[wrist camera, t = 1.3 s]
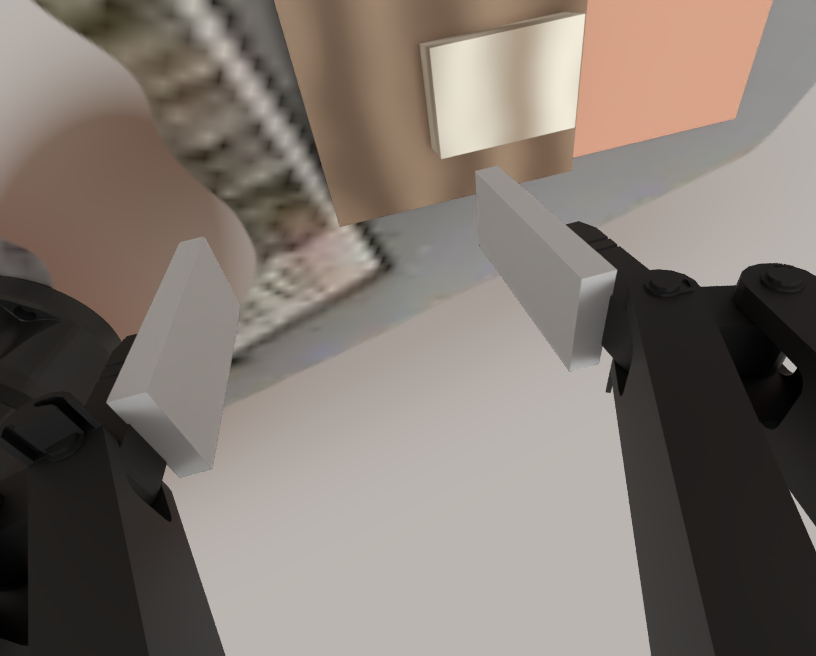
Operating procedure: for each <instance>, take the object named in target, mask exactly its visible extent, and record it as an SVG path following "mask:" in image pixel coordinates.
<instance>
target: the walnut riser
mask: <svg viewBox="0 0 816 656" xmlns="http://www.w3.org/2000/svg"><path fill="white" fill-rule="evenodd" d="M274 2H275V6H276V9H277V12H278V16H279V19H280V23H281V26H282V30H283V33H284V37H285V40H286V43H287V47H288V50H289V54H290V57H291V61H292V64H293V68H294V71H295V74H296V78H297V81H298V85H299V88H300V92H301V95H302V99H303V102H304V105H305V109H306V112H307V116H308V119H309V123H310V126H311V130H312V133H313V136H314V140H315V143H316V147H317V150H318V154H319V157H320V161H321V164H322V167H323V171H324V174H325V178H326V181H327V185H328V188H329V192H330V195H331V198H332V202H333V205H334V209H335V212H336V216H337V219H338V223H339V226H340V227H342V226H346V225H350V224H354V223H358V222H362V221H366V220H371V219H375V218H379V217H383V216H387V215H391V214H395V213H399V212H403V211H408V210H412V209H416V208H420V207H424V206H428V205H432V204H436V203H440V202H445V201H449V200H453V199H457V198H461V197H465V196H469V195H473V194H476V179H475V171H477V170H482V169H486V168H490V167H494V166H499V167H500V168H501V169H502V170H503V171H504V172H506V173H507V174H508V175H509V176H510V177H511V178H512V179H514V180H515V181H516V182H517V183H523V182H527V181H531V180H535V179H539V178H543V177H547V176H551V175H555V174H560V173H564V172H568V171H572V162H573V151H574V141H575V130H576V120H575V128H571V129H566V130H562V131H558V132H554V133H549V134H545V135H541V136H537V137H533V138H528V139H524V140H520V141H516V142H512V143H507V144H503V145H499V146H495V147H491V148H486V149H482V150H478V151H474V152H470V153H465V154H461V155H457V156H453V157H448V158H444V159H441V158H440V157H439V156H438V155H437V154H436V152H435V151H434V150H433V149H432V147H431V138H430V130H429V121H428V113H427V105H426V96H425V88H424V79H423V71H422V62H421V54H420V45H419V44H421V43H425V42H430V41H434V40H439V39H443V38H448V37H452V36H457V35H461V34H466V33H470V32H475V31H479V30H484V29H488V28H493V27H497V26H502V25H506V24H511V23H515V22H520V21H525V20H529V19H534V18H538V17H543V16H547V15H552V14H556V13H561V12H572V13H584V14H585V23H584V34H585V24H586V13H587V3H588V0H274ZM584 34H583V45H584ZM583 45H582V55H581V66H582V56H583ZM581 66H580V77H581ZM580 77H579V87H580ZM578 98H579V88H578ZM578 98H577V109H578ZM577 109H576V119H577Z"/></svg>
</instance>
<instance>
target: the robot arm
mask: <svg viewBox="0 0 816 656" xmlns="http://www.w3.org/2000/svg"><path fill="white" fill-rule="evenodd" d="M475 179H476V197H477V215H478V233H479V246H480V248H481V249H482V250H483V252H484V253H485V255H486V256H487V257H488V259H489V260H490V262H491V263H492V264H493V266H494V267H495V269H496V270H497V271H498V273H499V274H500V276H501V277H502V278H503V280H504V281H505V282H506V284H507V285H508V287H509V288H510V290H511V291H512V292H513V294H514V295H515V297H516V298H517V299H518V301H519V302H520V303H521V305H522V306H523V308H524V309H525V310H526V312H527V313H528V315H529V316H530V317H531V319H532V320H533V322H534V323H535V324H536V326H537V327H538V328H539V330H540V331H541V333H542V334H543V336H544V337H545V338H546V340H547V341H548V343H549V344H550V345H551V347H552V348H553V350H554V351H555V352H556V354H557V355H558V357H559V358H560V359H561V361H562V362H563V364H564V365H565V366H566V368H567V369H568V371H569V372H571V371H575V370H578V369H581V368H586V367H589V366H593V365H597V364H599V361H600V356H601V351H602V346H603V347H604V348H605V349H606V350H607V352H608V353H609V354H610V355H611V356H612V357H613V360H612V364H611V369H610V373H609V378H608V383H607V388H606V392H608V393H610V392H611V389H612V386H613V392H614V399H615V407H616V413H617V420H618V427H619V435H620V441H621V448H622V455H623V462H624V469H625V475H626V483H627V490H628V496H629V504H630V511H631V518H632V525H633V531H634V539H635V546H636V553H637V560H638V566H639V574H640V581H641V587H642V594H643V601H644V608H645V615H646V622H647V628H648V636H649V643H650V650H651V656H816V551H815V549H814V546H813V544H812V542H811V539H810V537H809V535H808V533H807V530H806V528H805V526H804V523H803V521H802V519H801V516H800V514H799V512H798V509H797V507H796V505H795V503H794V500H793V498H792V496H791V494H790V491H791V493H792V494H793V495H794V497H795V498H796V500H797V501H798V502H799V504H800V505H801V507H802V508H803V509H804V511H805V512H806V514H807V515H808V516H809V518H810V519H811V520H812V522H813V523H814V525H815V526H816V276H815V275H813V274H811V273H809V272H808V271H806V270H803V269H800V268H796V267H794V266H791V265H786V264H784V265H783V264H778V263H767V264H757V265H753V266H749V267H748V268H746V269H745V270H744V271H742V273H741V275H740V278H739V280H738V282H737V285H734V286H711V287H700V286H699V285H698V284H697V282H696V281H695V280H693V279H692V278H690V277H688V276H686V275H685V274H681V273H678V272H675V271H670V270H659V269H658V270H649V269H648V268H646V267H645V266H644V265H643V264H641V263H640V262H639V261H638V260H636V259H635V258H634V257H632V256H631V255H630V254H629V253H627V252H626V251H625V250H624V249H622V248H621V247H620V246H619V247H618V246H617V244H616V243H615V242H614V241H612V240H611V239H608V237H607V236H606V235H604V234H603V233H602V232H601V231H600V230H598V229H597V228H596V227H593V226H590V225H588V224H585V223H582V222H579V221H578V222H574V223H570V224H566V225H565V224H564V223H563V222H562V221H561V220H560V219H558V218H557V217H556V216H555V215H554V214H553V213H551V212H550V211H549V210H548V209H547V208H546V207H545V206H543V205H542V204H541V203H540V202H539V201H538V200H537V199H535V198H534V197H533V196H532V195H531V194H530V193H529V192H527V191H526V190H525V189H524V188H523V187H522V186H521V185H519V184H518V183H517V182H516V181H515V180H514V179H512V178H511V177H510V176H509V175H508V174H507V173H506V172H504V171H503V170H502V169H501V168H500V167H499V166H494V167H490V168H486V169H482V170H477V171H475ZM240 308H241V305H240V303H239V301H238V299H237V297H236V295H235V293H234V292H233V290H232V288H231V286H230V284H229V282H228V280H227V278H226V276H225V274H224V273H223V271H222V269H221V267H220V265H219V263H218V261H217V259H216V257H215V256H214V254H213V252H212V250H211V248H210V246H209V244H208V242H207V241H206V239H205V237H199V238H196V239H191V240H187V241H183V242H180V243H179V245H178V247H177V249H176V252H175V254H174V256H173V258H172V260H171V262H170V265H169V267H168V269H167V271H166V273H165V275H164V278H163V280H162V282H161V284H160V286H159V288H158V291H157V293H156V295H155V297H154V299H153V302H152V304H151V306H150V308H149V311H148V312H147V315H146V317H145V319H144V321H143V323H142V325H141V328H140V330H139V332H138V334H135V335H131V336H127V337H126V338H125V339H124V340H123V341H122V342H121V340H120V338H119V337H118V335H117V334H116V333H115V331H114V330H113V329H112V327H111V326H110V325H109V324H108V323H107V322H106V321H105V320H104V319H103V318H101V317H100V316H99V315H98V314H97V313H95V312H94V311H93V310H91V309H90V308H88V307H87V306H86V305H84V304H82V303H81V302H79V301H77V300H75V299H74V298H72V297H70V296H68V295H66V294H63V293H61V292H59V291H57V290H54V289H51V288H49V287H46V286H43V285H40V284H36V283H33V282H29V281H25V280H21V279H15V278H9V277H2V276H0V656H225V653H224V650H223V647H222V644H221V641H220V638H219V635H218V632H217V629H216V626H215V623H214V619H213V616H212V613H211V610H210V607H209V604H208V601H207V598H206V595H205V592H204V589H203V586H202V583H201V580H200V577H199V574H198V571H197V568H196V564H195V561H194V558H193V555H192V552H191V549H190V546H189V543H188V540H187V537H186V534H185V531H184V528H183V525H182V522H181V519H180V516H179V513H178V510H177V506H176V503H175V500H174V497H173V494H172V492H171V490H170V489H169V487H168V486H167V485H166V484H165V483H164V482H163V481H162V479H163V475H164V472H165V468H166V464H167V465H168V466H169V467H170V468H171V469H172V470H173V472H174V473H175V474H176V475H178V477H179V478H181V477H185V476H189V475H192V474H196V473H200V472H203V471H207V470H211V469H213V464H214V458H215V452H216V446H217V441H218V435H219V429H220V423H221V418H222V412H223V406H224V400H225V395H226V389H227V383H228V377H229V372H230V366H231V360H232V354H233V349H234V343H235V337H236V331H237V326H238V320H239V314H240ZM786 356H787V357H788V358H789V359H790V361H792V363H794V365H795V366H796V367H797V369H796V371H795V372H794V373H792V372H790V371H789V370H788V369H787V368H786V367H785V366H784V365H783V364H782V363H783V361H784V359H785V358H786ZM789 490H790V491H789Z"/></svg>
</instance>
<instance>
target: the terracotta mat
mask: <svg viewBox="0 0 816 656" xmlns="http://www.w3.org/2000/svg"><path fill="white" fill-rule="evenodd" d="M772 2H773V0H588V3H587V13H586V24H585V34H584V45H583V56H582V66H581V77H580V87H579V98H578V109H577V119H576V130H575V141H574V151H573V157H578V156H582V155H586V154H590V153H594V152H598V151H602V150H607V149H611V148H615V147H619V146H623V145H627V144H631V143H635V142H640V141H644V140H648V139H652V138H656V137H660V136H664V135H669V134H673V133H677V132H681V131H685V130H689V129H693V128H698V127H702V126H706V125H710V124H714V123H718V122H722V121H726V120H731V119H735V117H736V114H737V111H738V108H739V105H740V101H741V98H742V95H743V92H744V89H745V86H746V83H747V80H748V77H749V73H750V70H751V67H752V64H753V61H754V58H755V55H756V52H757V49H758V45H759V42H760V39H761V36H762V33H763V30H764V27H765V24H766V21H767V17H768V14H769V11H770V8H771V5H772Z"/></svg>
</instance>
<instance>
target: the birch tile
mask: <svg viewBox="0 0 816 656" xmlns="http://www.w3.org/2000/svg"><path fill="white" fill-rule="evenodd" d="M584 23H585V14H584V13H572V12H561V13H556V14H552V15H547V16H543V17H538V18H534V19H529V20H525V21H520V22H515V23H511V24H506V25H502V26H497V27H493V28H488V29H484V30H479V31H475V32H470V33H466V34H461V35H457V36H452V37H448V38H443V39H439V40H434V41H430V42H425V43H421V44H419V45H420V54H421V62H422V71H423V79H424V88H425V96H426V105H427V113H428V121H429V130H430V138H431V147H432V149H433V150H434V151H435V152H436V154H437V155H438V156H439V157H440V158H441V159H444V158H448V157H453V156H457V155H461V154H465V153H470V152H474V151H478V150H482V149H486V148H491V147H495V146H499V145H503V144H507V143H512V142H516V141H520V140H524V139H528V138H533V137H537V136H541V135H545V134H549V133H554V132H558V131H562V130H566V129H571V128H575V120H576V109H577V98H578V88H579V77H580V66H581V55H582V45H583V34H584Z"/></svg>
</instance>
